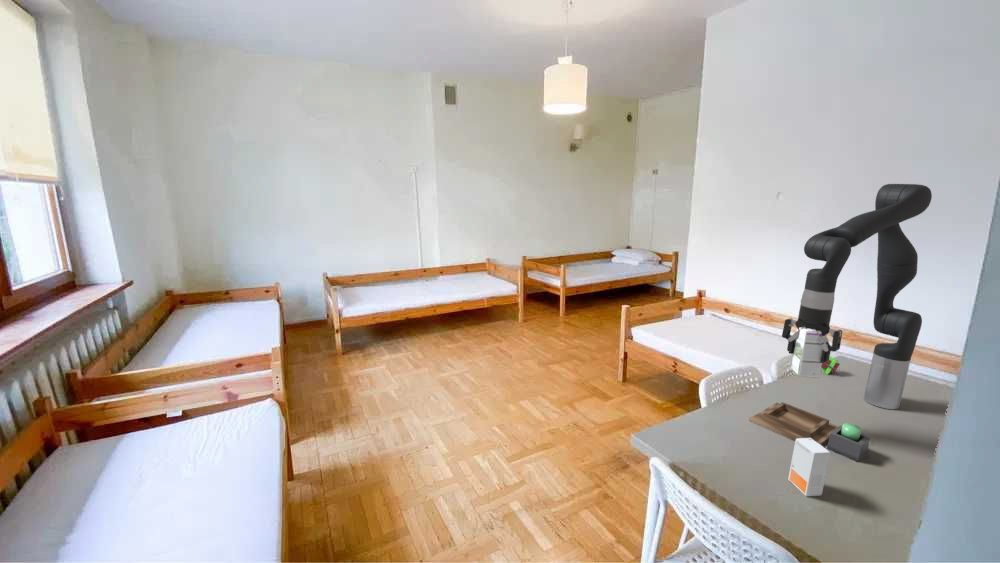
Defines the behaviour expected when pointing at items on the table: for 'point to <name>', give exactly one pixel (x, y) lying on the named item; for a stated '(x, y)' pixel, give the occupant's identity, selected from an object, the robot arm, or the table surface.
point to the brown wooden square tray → (794, 423)
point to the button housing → (848, 445)
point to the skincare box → (809, 466)
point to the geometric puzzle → (830, 366)
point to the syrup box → (807, 354)
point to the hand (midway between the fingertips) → (806, 357)
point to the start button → (851, 431)
